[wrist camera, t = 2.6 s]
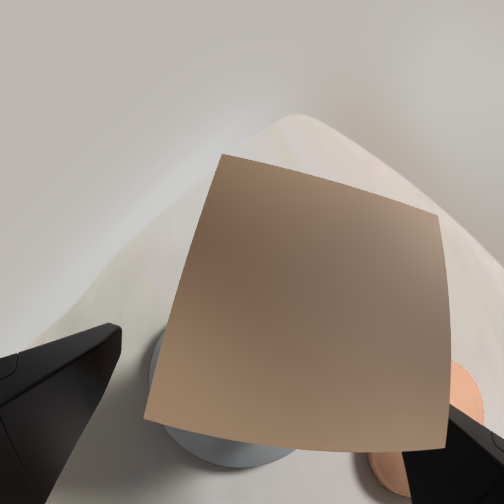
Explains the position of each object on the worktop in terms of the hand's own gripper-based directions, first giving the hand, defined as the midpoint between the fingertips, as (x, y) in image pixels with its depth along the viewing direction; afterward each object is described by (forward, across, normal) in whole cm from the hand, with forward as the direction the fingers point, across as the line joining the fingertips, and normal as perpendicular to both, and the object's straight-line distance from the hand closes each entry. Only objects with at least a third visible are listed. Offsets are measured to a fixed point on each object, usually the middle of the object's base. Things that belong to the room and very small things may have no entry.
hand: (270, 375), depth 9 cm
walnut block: (+6, 0, +5) cm, 8 cm away
